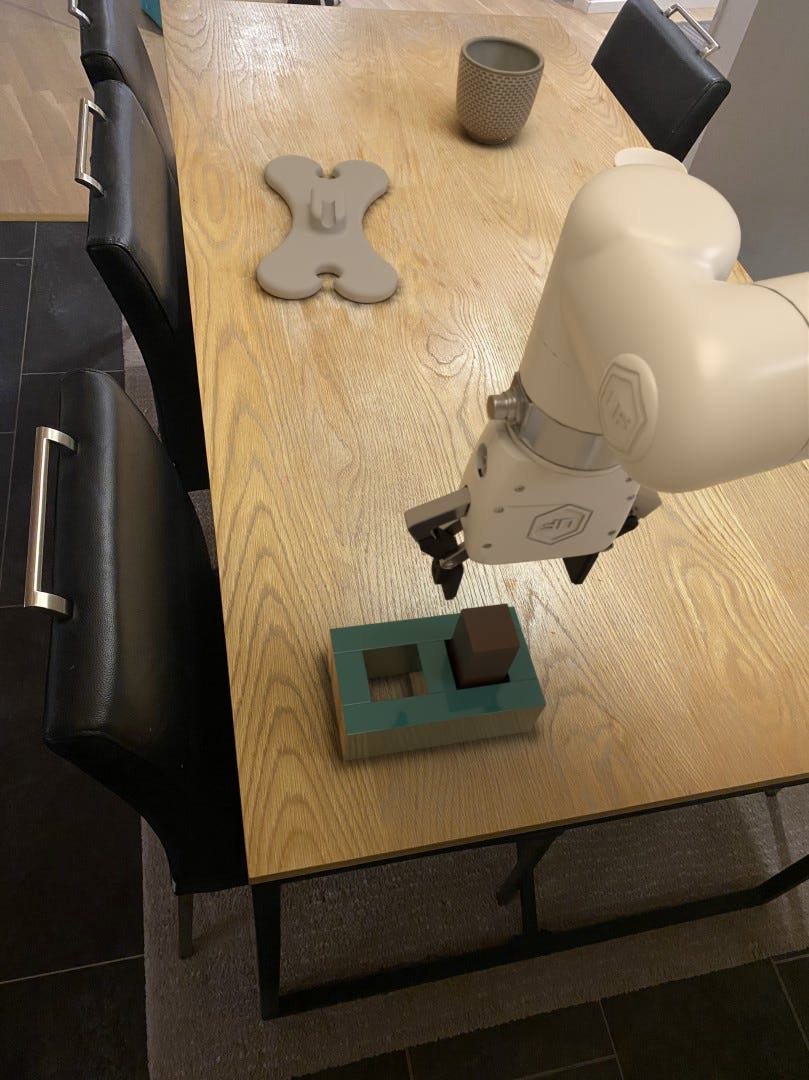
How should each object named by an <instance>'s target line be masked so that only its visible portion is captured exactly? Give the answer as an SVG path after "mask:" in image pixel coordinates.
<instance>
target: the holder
mask: <svg viewBox="0 0 809 1080" xmlns="http://www.w3.org/2000/svg"><path fill="white" fill-rule="evenodd" d="M323 171H324V170H323V167H322V166H321V164H320V163H318V162H317V161H315V160H314V159H311V158H310V157H306V156H305V155H304V156H303V155H298V154H286V155H285V154H284V155H281V156H278V157H275V158H272V159H271V160H269V162H268V163H267V164H266V166H265V168H264V177H265V181H266V183H267V184H268V186H269V187H270V188H271V189H273V190H274V191H275V192H276V193H278V195H280V196H281V197H282V199H283V200H284V201H285V203H287V205H288V207H289V209H290V212H291V216H292V223H291V224H292V225H291V227H290V230H289V232H288V234H287V236H286V237H285V238H284V240H283V241H282V242H281V243H280V244H279V245H278V246H277V247H276V248H275V249H274V250H272V251H271V252H269V253H268V254H266V255H265V256H263V258H262V259H260V260H259V262H258V264H257V266H256V280H257V281H258V284H259V286H260V287H261V288H262V289H263V290H264V291H265V292H266V293H268V294H270V295H272V296H274V297H276V298H281V299H286V300H300V299H305V298H308V297H311V296H313V295H314V294H316V293H318V292H319V291H320V290H321V288H322V287H323V278H320V277H319V276H318V275H319V274H322V273H330V274H334V275H336V276H338V278H335V279H334V281H333V288H334V289H335V291H336V292H337V293H338V294H339V295H341V296H342V297H343V298H345V299H347V300H350V301H353V302H357V303H362V304H372V303H373V304H375V303H379V302H382V301H385V300H387V299H389V298H390V297H391V296H392V295H394V293H395V292H396V290H397V287H398V280H399V277H398V273H397V270H396V269H395V268H394V266H393V265H392V264H391V263H390V262H389V261H387V260H386V259H384V257H382V256H381V255H380V254H379V253H378V252H377V251H376V250H375V248H374V247H373V246H372V244H371V243H370V242H369V240H368V238H367V237H366V234H365V232H364V227H363V219H364V216H365V213H366V211H367V210H368V208H369V207H370V206H371V205H372V203H374V202H375V201H376V200H378V198H380V197H381V196H383V195H384V194H385V193H386V192H387V190H388V188H389V182H390V181H389V175H388V173H387V171H386V170H385V169H384V168H383V167H381V166H380V165H378V164H376V163H374V162H371V161H368V160H363V159H348V160H344V161H341V162H339V163H337V164H336V165H334V167H333V168H332V170H331V176H332V177H333V178H323V177H321V176H322V175H323Z"/></svg>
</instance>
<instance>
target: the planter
mask: <svg viewBox="0 0 809 1080" xmlns="http://www.w3.org/2000/svg"><path fill="white" fill-rule="evenodd" d="M544 68H545V57H544V56H543V54H542V53H541V52H540V51H539V50H538V49H537V48H535V47H533V46H532V45H530V44H529V43H526V42H524V41H521V40H518V39H515V38H512V37H511V38H510V37H505V36H499V35H480V36H475V37H472V38H469V39H468V40H467V39H466V41H465V42H463V44H462V45H461V48H460V51H459V58H458V68H457V78H456V93H455V109H456V115H457V118H458V120H459V122H460V124H461V125H462V126H463V127H464V128H465V130H467V134H468V135H469V137H470V138H471V139H473V140H474V141H475V142H478V143H481V144H484V145H492V146H494V145H495V146H496V145H500V144H503V143H505V142H506V141H507V140H508V139H509V138H511V137H513V136H515V135H517V134H518V133H520V131H521V130H522V129H524V127H525V125H526V124H527V121H528V120H529V118H530V114H531V113H532V109H533V107H534V103H535V101H536V98H537V94H538V90H539V87H540V84H541V81H542V77H543V74H544V70H545V69H544ZM505 138H506V139H505ZM503 139H504V140H503Z"/></svg>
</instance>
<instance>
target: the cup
mask: <svg viewBox="0 0 809 1080" xmlns="http://www.w3.org/2000/svg"><path fill="white" fill-rule="evenodd" d="M627 164H650V165H658V166H663V167H668V168H671V169H675V170H678V171H681V172H683V173H686V174H688V169H687V168H686V166H685V165H684V164H683V163H682V162H680V161H679V160H678V159H677V158H675V157H674V156H672V155H671V154H668V153H666V152H663V151H661V150H657V149H653V148H650V147H649V148H648V147H642V146H641V147H640V146H635V147H634V146H633V147H625V148H624V149H621V150H619V151H618V152H617V153H615V155H614V157H613V167H617V166H621V165H627ZM688 175H689V174H688Z"/></svg>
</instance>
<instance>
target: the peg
mask: <svg viewBox="0 0 809 1080" xmlns="http://www.w3.org/2000/svg"><path fill="white" fill-rule="evenodd" d="M509 607H510V606H509V604H508V603H498V604H490V605H483V606H474V607H467V608H461V609H460V612H459V613H460V615H459V618H458V621H457V624H456V627H455V630H454V633H453V636H452V639H451V642H450V645H449V648H448V651H447V654H448V658H449V662H450V665H451V669H452V673H453V677H454V681H455V685H456V689H457V690H461V689H468V688H475V687H482V686H488V685H495V684H502V683H503V681H504V679H505V677H506V675H507V673H508V671H509V669H510V667H511V665H512V663H513V661H514V659H515V657H516V655H517V653H518V651H519V649H520V647H521V644H520V641H519V638H518V635H517V632H516V629H515V625H514V622H513V619H512V616H511V613H510V610H509Z"/></svg>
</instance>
